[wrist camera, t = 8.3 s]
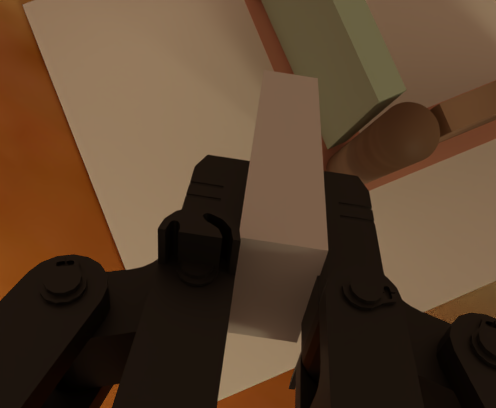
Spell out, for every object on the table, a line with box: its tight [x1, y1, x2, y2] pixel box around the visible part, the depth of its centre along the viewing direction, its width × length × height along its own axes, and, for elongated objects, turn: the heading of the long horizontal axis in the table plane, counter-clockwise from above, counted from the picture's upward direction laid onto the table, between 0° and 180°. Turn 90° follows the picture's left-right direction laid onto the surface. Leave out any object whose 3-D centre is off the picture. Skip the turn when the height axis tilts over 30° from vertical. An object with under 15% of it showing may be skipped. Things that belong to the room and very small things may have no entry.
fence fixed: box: [326, 81, 496, 184], centre depth 19 cm, size 12×2×8 cm, turn 112°
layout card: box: [23, 0, 496, 401], centre depth 24 cm, size 25×22×1 cm
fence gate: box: [261, 0, 406, 149], centre depth 19 cm, size 10×2×8 cm, turn 23°
